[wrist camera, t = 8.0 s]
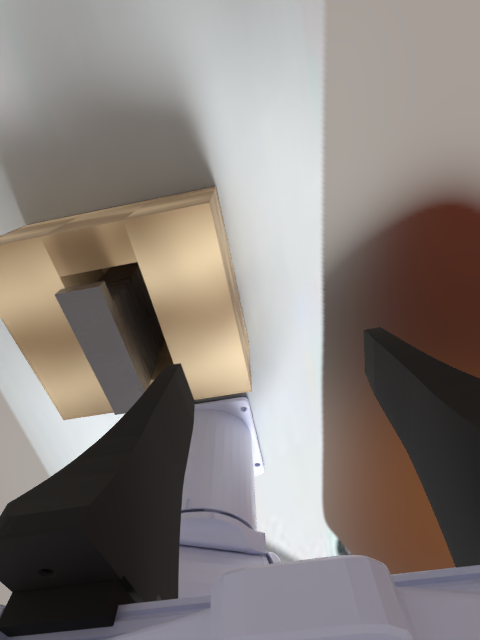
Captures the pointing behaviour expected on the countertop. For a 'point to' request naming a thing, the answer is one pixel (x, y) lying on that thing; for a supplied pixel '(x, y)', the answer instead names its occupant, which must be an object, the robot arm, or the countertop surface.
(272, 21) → the countertop surface
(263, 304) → the countertop surface
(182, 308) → the slotted wooden block
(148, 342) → the grey flat piece
